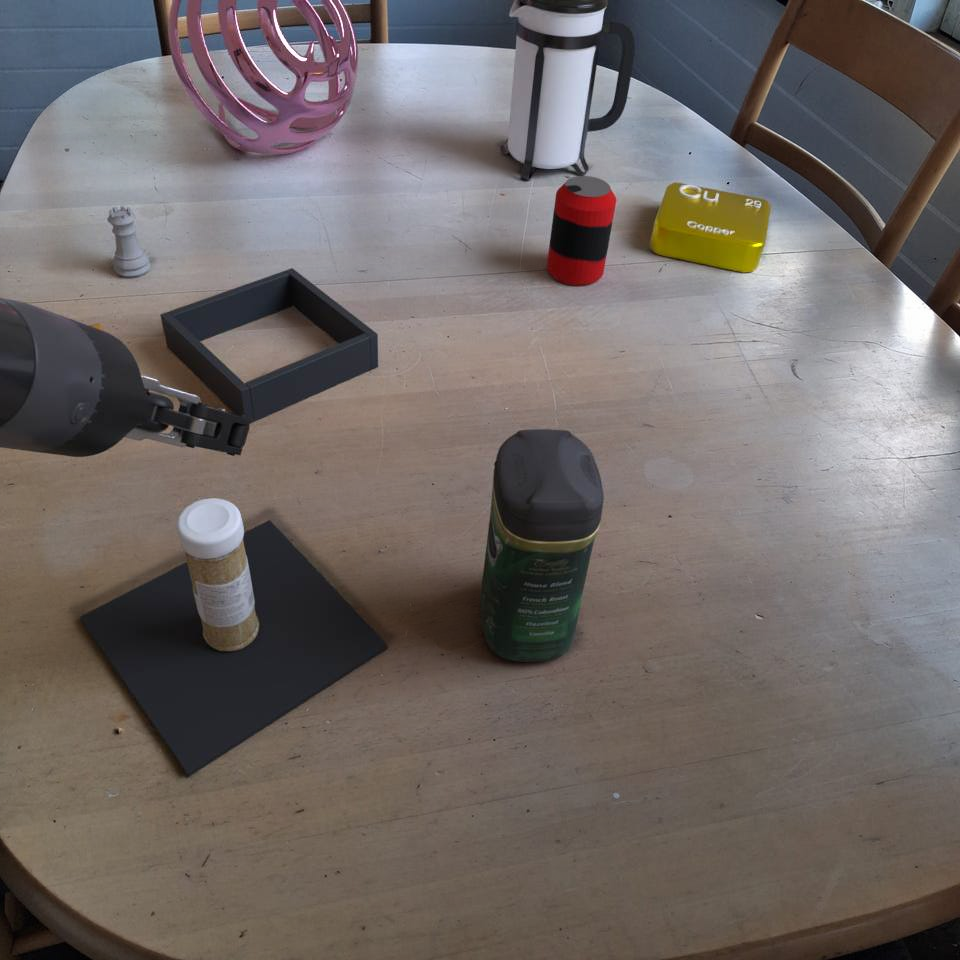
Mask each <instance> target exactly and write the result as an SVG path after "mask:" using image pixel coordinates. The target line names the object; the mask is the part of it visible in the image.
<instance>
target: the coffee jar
mask: <svg viewBox="0 0 960 960" xmlns="http://www.w3.org/2000/svg"><path fill="white" fill-rule="evenodd" d="M495 458H496V459H495V461H494V463H493V466H494V467H493V476H492V487H491V488H492V489H491V501H490V513H489V521H488V529H487V538H486V546H485V555H484V561H483V562H484V563H483V570H482V577H481V586H480V598H479V599H480V603H479V605H480V606H479V607H480V619H481V626H482V629H483V630H482V631H483V633H484V637H485V640H486V643H487V645H488V647H489V648H490V650H491V651H492V652H493V653H494V654H495V655H497V656H498V657H500V658H502V659H504V660H508V661H512V662H519V663H539V662H548V661H552V660H556V659H558V658H560V657H562V656H563V655H565V654H566V653H567V652H568V651H570V649H571V647H572V645H573V642H574V638H575V633H576V630H577V624H578V619H579V615H580V609H581V603H582V598H583V595H584V590H585V584H586V580H587V575H588V571H589V566H590V562H591V557H592V551H593V548H594V543H595V540H596V537H597V534H598V532H599V530H600V527H601V521H602V515H603V508H604V507H603V506H604V501H605V500H604V499H605V496H604V489H603V482H602V477H601V474H600V471H599V468H598V465H597V463H596V460H595V457H594V454H593V453H592V451H591V449H590V448H589V447H588V445H586V444H585V442H583V441H582V440H581V439H580V438H578V436H576V435H574V434H572V433H571V431H570V430H566V429H548V428H547V429H546V428H538V429H537V428H535V429H533V428H532V429H531V428H530V429H520V430H518V431H516V433H514V434H512V435H511V436H509V437H508V438H507V439H506V440H505V441H503V442H502V444H501V445H500V446H499V448H498V451H497V454H496V457H495Z"/></svg>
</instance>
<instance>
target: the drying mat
mask: <svg viewBox="0 0 960 960" xmlns="http://www.w3.org/2000/svg"><path fill="white" fill-rule="evenodd" d="M243 541H244V548H245V552H246V556H247V560H248V565H249V571H250V577H251V582H252V588H253V594H254V601H255V604H254V606H255V612H256V616H257V618H258V621H259V631H258V633H257V636H256V637H255V639H254V640H253V641H252V642H251V643H250V644H249V645H247V646H246V647H244V648H242V649H239V650H236V651H219V650H217V649H214V648H213V647H211V646H210V645H209V644H207V642H206V641H205V639H204V636H203V626H202V621H201V617H200V615H199V613H198V609H197V605H196V601H195V597H194V592H193V585H192V581H191V577H190V571H189V567H188V563H187V561H186V562H184V563H181V564H180V565H178V566H176V567H174V568H172V569H171V570H168V571H166V572H164V573H163V574H161V575H158V576H157V577H155V578H153V579H151V580H149V581H146V582H145V583H143V584H141V585H139V586H137V587H135V588H133V589H131V590H129V591H127V592H126V593H122V595H119V596H118V597H115V598H114V599H112V600H110V601H108V602H106V603H104V604H102V605H99V606H98V607H96V608H94V609H92V610H90V611H87V612H86V613H84V614H82V615H80V616H79V620H80V622H81V623H82V624H83V626H84V628H85V629H86V631H87V632H88V633H89V635H90V636H91V638H92V640H93V641H94V642H95V644H96V645H97V647H98V648H99V649H100V651H101V653H102V654H103V655H104V657H105V658H106V660H107V661H108V663H109V664H110V666H111V667H112V668H113V670H114V671H115V673H116V674H117V675H118V677H119V678H120V680H121V681H122V683H123V684H124V686H125V687H126V689H127V690H128V692H129V693H130V695H131V696H132V698H133V699H134V701H135V702H136V703H137V705H138V706H139V707H140V709H141V710H142V712H143V713H144V715H145V716H146V718H147V720H148V721H149V722H150V724H151V725H152V727H153V728H154V729H155V731H156V732H157V734H158V736H159V737H160V739H161V740H162V741H163V743H164V744H165V746H166V747H167V749H168V750H169V751H170V753H171V754H172V756H173V757H174V759H175V760H176V762H177V763H178V765H179V766H180V768H181V769H182V770H183V772H184V773H185V775H186V776H187V777H188V778H189V777H191V776H193V775H194V774H196V773H198V772H199V771H200V770H202V769H203V768H205V767H207V766H208V765H209V764H211V763H213V762H214V761H216V760H218V759H219V758H221V757H222V756H223V755H226V754H227V753H228V752H230V751H231V750H233V749H235V748H236V747H237V746H239V745H241V744H242V743H243V742H246V741H247V740H248V739H250V738H252V737H253V736H255V735H256V734H258V733H259V732H261V731H262V730H264V729H266V728H267V727H268V726H270V725H272V724H273V723H275V722H276V721H278V720H279V719H281V718H283V717H284V716H286V715H287V714H289V713H290V712H292V711H293V710H295V709H297V708H298V707H300V706H301V705H303V704H304V703H306V702H308V701H309V700H310V699H312V698H313V697H316V695H318V694H320V693H322V692H323V691H325V690H326V689H327V688H329V687H331V686H332V685H334V684H335V683H337V682H338V681H340V680H341V679H343V678H344V677H346V676H348V675H350V674H351V673H352V672H354V671H355V670H357V669H358V668H360V667H362V666H364V665H365V664H366V663H368V662H369V661H371V660H372V659H374V658H376V657H377V656H378V655H380V654H383V653H384V652H385V651H387V650H388V646H389V645H388V644H387V642H386V641H385V640H384V639H383V638H382V637H381V636H380V634H378V632H377V631H376V630H374V628H372V626H370V624H369V622H367V621H366V620H365V619H364V618H363V617H362V616H361V615H360V613H358V612H357V610H356V609H355V608H354V607H353V606H352V605H351V604H350V603H349V602H348V601H347V600H346V599H345V597H344V596H343V595H341V593H339V591H338V590H336V588H335V587H334V586H333V585H332V584H331V583H330V582H329V581H328V580H327V579H326V578H325V577H324V576H323V575H322V574H321V572H319V570H318V569H317V568H316V567H315V566H314V565H313V564H312V563H311V562H310V561H309V559H307V558H306V556H305V555H304V554H302V552H301V551H300V550H299V549H298V548H297V547H296V546H295V545H294V544H293V543H292V541H290V540H289V539H288V538H287V536H286V535H285V534H284V533H283V532H282V531H281V530H280V529H279V528H278V527H277V526H276V525H275V524H274V523H273V522H272V520H270V519H268V520H266V521H264V522H263V523H260V524H258V525H257V526H254V527H253V528H250V529H248V530H247V531H244V536H243Z"/></svg>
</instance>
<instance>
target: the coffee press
mask: <svg viewBox="0 0 960 960" xmlns="http://www.w3.org/2000/svg"><path fill="white" fill-rule="evenodd" d="M608 5H609V0H514V1H513V3H512V5H511V7H510V10H509V14H508V16H509V17H510V18H516V21H515V34H516V40H515V41H516V42H515V52H514V53H515V54H514V65H513V75H512V87H511V96H510V97H511V98H510V109H509V111H510V112H509V121H508V131H507V132H508V133H507V134H508V135H507V138H506V140H505V141H504V143H502V145H501V146H500V149H499V151H500V153H501V154H502V155H503V156H506V155H509V154H510V155H511V156H512V157H513V158H514V159H515V160H516V161H517V162H520V163H521V164H523V165H522V168H521V171H520V174H519V175H520V176H519V177H520V179H522V180H524V181H525V180H526V181H529V182H530V181H531V179H532V177H533V175H534V172H535V170H536V169H537V168H538V169H545V170H556V169H563V168H567V167H571V168H572V169H573V170H574V171H575V173H576V174H577V175H578V176H586V174H587V173H588V172H589V169H590V167H589V165H588V163H587V160H586V158H585V149H586V141H587V140H588V133H589V132H598V131H601V130H606V129H608V128H610V127H611V126H613V125H614V124H615V123H617V121H618V120H619V119H620V118H621V116H622V114H623V112H624V110H625V107H626V104H627V100H628V95H629V91H630V84H631V78H632V72H633V68H634V67H633V66H634V61H635V52H636V45H635V44H636V43H635V37H634V34H633V31H632V30H631V29H630V27H629V26H628V25H626V24H625V22H622V21H620V20H617V19H611V18H609V19H608V20H604V15H605V10H606V9H607V7H608ZM603 34H610V35H617V36H618V37H619V39H620V42H621V55H620V61H619V67H618V72H617V73H618V74H617V78H616V79H617V80H616V85H615V92H614V96H613V102H612V105H611V107H610V109H609V110H608V112H607V113H606V114H605V115H602V116H600V117H596V118H590V113H591V108H592V100H593V94H594V87H595V80H596V75H597V74H596V73H597V66H598V59H599V53H600V43H601V42H602V39H603ZM505 145H507V149H508V150H507V149H506V148H505ZM579 160H580V163H581V166H582V168H583V170H584V171H582V169H581V168H580V166H579V165H578V164H577V162H578V161H579Z"/></svg>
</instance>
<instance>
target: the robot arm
mask: <svg viewBox="0 0 960 960" xmlns="http://www.w3.org/2000/svg"><path fill="white" fill-rule="evenodd" d="M88 325H89V324H86V323H82V322H80V321H77V320H75V319H72V318H69V317H67V316H64V315H61V314H58V313H55V312H52V311H50V310H47V309H44V308H41V307H38V306H36V305H33V304H30V303H28V302H24V301H18V300H15V299H11V298H3V297H0V448H3V449H10V450H16V451H24V452H25V451H26V452H32V453H40V454H41V453H42V454H49V455H57V456H65V457H71V458H87V457H92V456H96V455H99V454H102V453H104V452H106V451H108V450H110V449H111V448H114V447H115V446H116V445H117V444H119V443H120V442H121V440H123V439H124V438H126V439H130V440H134V441H139V442H140V441H143V440H146V439H147V440H151V441H155V442H159V443H163V444H167V445H171V446H174V447H179V448H185V447H187V448H191V449H195V447H196V448H201V449H206V450H211V451H216V452H220V453H226V455H229V456H232V457H235V455H236V456H242V453H243V448H244V447H245V445H246V442H247V438H248V435H249V431H250V427H251V426H250V425H251V423H250V421H251V419H248V418H246V415H243V414H239V413H238V415H235V414H234V413H230V412H228V411H227V409H225V408H222V407H217V408H214V407H210V406H208V404H207V403H204V402H202V400H201V398H200V396H199V395H197V394H193V393H190V392H186V391H183V390H180V389H177V388H173V387H169V386H166V385H163V384H162V383H161V382H160V381H159V380H158V379H157V378H154V377H150V376H147V375H145V374H141V370H140V367H139V364H138V362H137V360H136V358H135V357H134V355H133V353H132V351H130V349H129V348H128V347H127V346H126V344H124V342H123V341H121V340H120V339H119V338H117V337H116V336H115V335H113V334H112V333H109V332H107V331H105V330H104V331H102V330H99V329H97V328H94V327H91V326H88ZM168 396H169V397H172V398H175V399H177V401H178V402H179V406H178V411H177V410H175V404H174V401H172V399H171V398H169V397H168ZM169 426H170V427H173V428H172V429H171V431H170V432H168V433H163V432H165V431H167V430H168V428H169Z"/></svg>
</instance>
